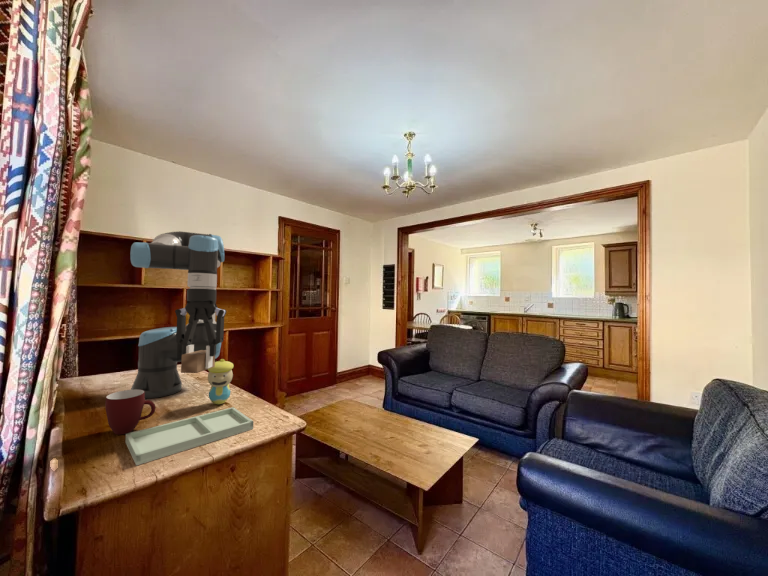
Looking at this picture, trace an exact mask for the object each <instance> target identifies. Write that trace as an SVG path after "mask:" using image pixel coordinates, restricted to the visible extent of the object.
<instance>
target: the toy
mask: <svg viewBox="0 0 768 576" xmlns="http://www.w3.org/2000/svg"><path fill="white" fill-rule="evenodd" d="M232 369H234V363H233V362H231V361H228V360H227V361H226V360H225V359H224V358H221V359H219V360H218V361H217V360H216V361H215V367H213V368H210V369H207V371H208V374H207V381H208V384H209V385H210V386H211V387H210V389H209V392H208V398H209V400H210V402H211V403H213V405H222V404H224V403H226V402H227V401H228V399H229V398H230V396H231V393H232V392H231V388H230V383H231V382H232V380H233V377H234V374H233V370H232Z"/></svg>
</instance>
